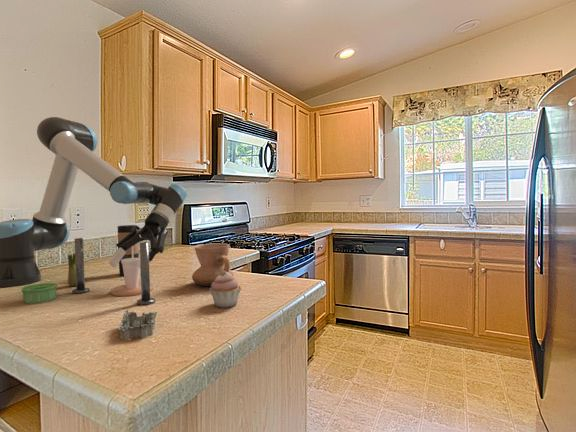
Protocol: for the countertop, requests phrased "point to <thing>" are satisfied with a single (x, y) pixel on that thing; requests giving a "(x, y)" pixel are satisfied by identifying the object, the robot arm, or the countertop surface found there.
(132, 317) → the grey castle model
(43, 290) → the ramekin
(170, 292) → the countertop surface
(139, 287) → the coaster
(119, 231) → the travel mug
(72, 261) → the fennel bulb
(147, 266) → the rod gate
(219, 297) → the cupcake
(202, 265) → the ceramic jug
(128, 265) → the smoothie
